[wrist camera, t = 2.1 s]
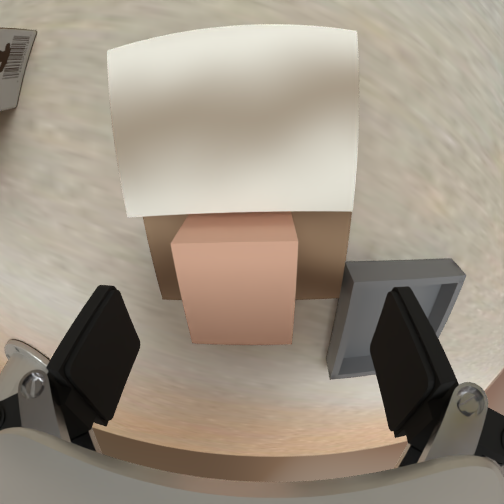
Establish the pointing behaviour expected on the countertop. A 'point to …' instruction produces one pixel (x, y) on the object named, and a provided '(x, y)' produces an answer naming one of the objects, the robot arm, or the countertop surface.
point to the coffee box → (13, 63)
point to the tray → (372, 300)
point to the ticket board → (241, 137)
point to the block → (238, 276)
